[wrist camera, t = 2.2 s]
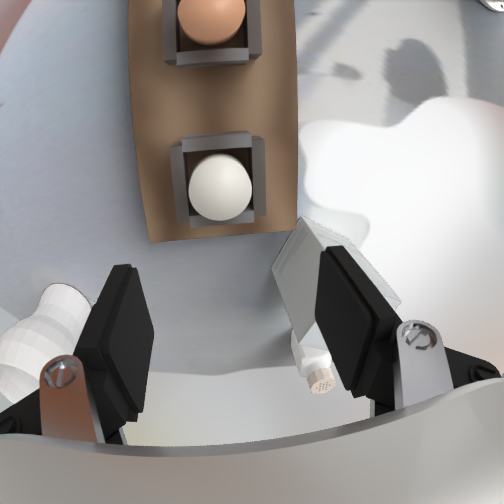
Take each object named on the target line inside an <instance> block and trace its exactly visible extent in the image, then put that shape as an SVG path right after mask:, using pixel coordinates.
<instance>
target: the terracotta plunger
mask: <svg viewBox="0 0 504 504" xmlns="http://www.w3.org/2000/svg"><path fill="white" fill-rule="evenodd" d="M244 15H245V3H244V0H181V1H180V3H179V6H178V18H179V21H180V24H181V26H182V28H183V31H184V33H185V34H186V36H187V37H188V38H189V39H190V40H192V41H193V42H195V43H197V44H200V45H206V46H214V45H219V44H222V43H225V42H227V41H228V40H230V39H231V38H232V37H234V35H235V34H236V33H237V32H238V30H239V28H240V25H241V23H242V20H243V18H244Z"/></svg>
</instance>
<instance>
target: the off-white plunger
mask: <svg viewBox="0 0 504 504" xmlns="http://www.w3.org/2000/svg"><path fill="white" fill-rule="evenodd" d="M251 194H252V186H251V181H250V179H249V177H248V174H247V172H246V170H245V168H244V167H243V165H242V164H241V162H240V161H239V160H237V159H236V158H235V157H233V156H231V155H228V154H223V153H216V154H211V155H208V156H206V157H205V158H203V159H202V160H200V161H199V162H198V163H197V165H196V166H195V168H194V170H193V172H192V176H191V180H190V184H189V198H190V201H191V204H192V206H193V207H194V209H195V210H196V211H197V212H198V213H199V214H201V215H202V216H204V217H206V218H208V219H211V220H217V221H223V220H228V219H231V218H234V217H236V216H237V215H239V214H240V213H241V212H242V211H243V210H244V209H245V208H246V207H247V205H248V203H249V201H250V198H251Z"/></svg>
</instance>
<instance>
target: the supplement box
mask: <svg viewBox="0 0 504 504" xmlns="http://www.w3.org/2000/svg"><path fill="white" fill-rule="evenodd" d="M338 245H343V246H344V247H345V249H346V250H347V251H348V252H349V254H350V255H351V256H352V257H353V258H354V260H355V261H356V262H357V263H358V265H359V266H360V267H361V268H362V270H363V271H364V272H365V273H366V275H367V276H368V277H369V279H370V280H371V281H372V282H373V283H374V285H375V286H376V287H377V289H378V290H379V291H380V292H381V294H382V295H383V296H384V298H385V299H386V300H387V302H388V303H389V304H390V306H391V307H392V308H393V310H394V311H395V310H396V308H397V307H398V306H399V305H400V304H401V300H400V299H399V297H398V296H397V295H396V293H395V292H394V291H393V289H392V288H391V287H390V286H389V285H388V284H387V282H386V281H385V280H384V279H383V277H381V275H380V274H379V273H378V272H377V271H376V269H375V268H374V267H373V266H372V265H371V264H370V262H369V261H368V260H367V259H366V258H365V257H364V256H363V254H362V253H361V252H360V251H359V250H358V249H357V248H356V246H355V245H354V244H353V243H352V242H351V241H350V239H348V238H346V237H344V236H342V235H340V234H338V233H336V232H334V231H332V230H330V229H328V228H326V227H324V226H322V225H320V224H317V223H315V222H313V221H311V220H309V219H307V218H305V217H303V216H301V217H300V219H299V221H298V222H297V227H296V230H293V231H292V233H291V234H290V236H289V238H288V239H287V241H286V243H285V244H284V246H283V248H282V250H281V251H280V253H279V255H278V257H277V258H276V260H275V262H274V263H273V265H272V267H271V269H272V272H273V275H274V278H275V281H276V283H277V286H278V289H279V291H280V294H281V297H282V300H283V302H284V305H285V308H286V311H287V314H288V316H289V319H290V322H291V325H292V328H293V330H294V333H295V336H296V339H297V342H298V344H299V345H304V346H308V347H312V348H317V349H321V350H326V351H329V350H328V348H327V346H326V343H325V341H324V339H323V336H322V334H321V332H320V330H319V327H318V325H317V323H316V320H315V303H316V294H317V284H318V274H319V263H320V253H321V251H325V249H326V247H327V246H338Z"/></svg>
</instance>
